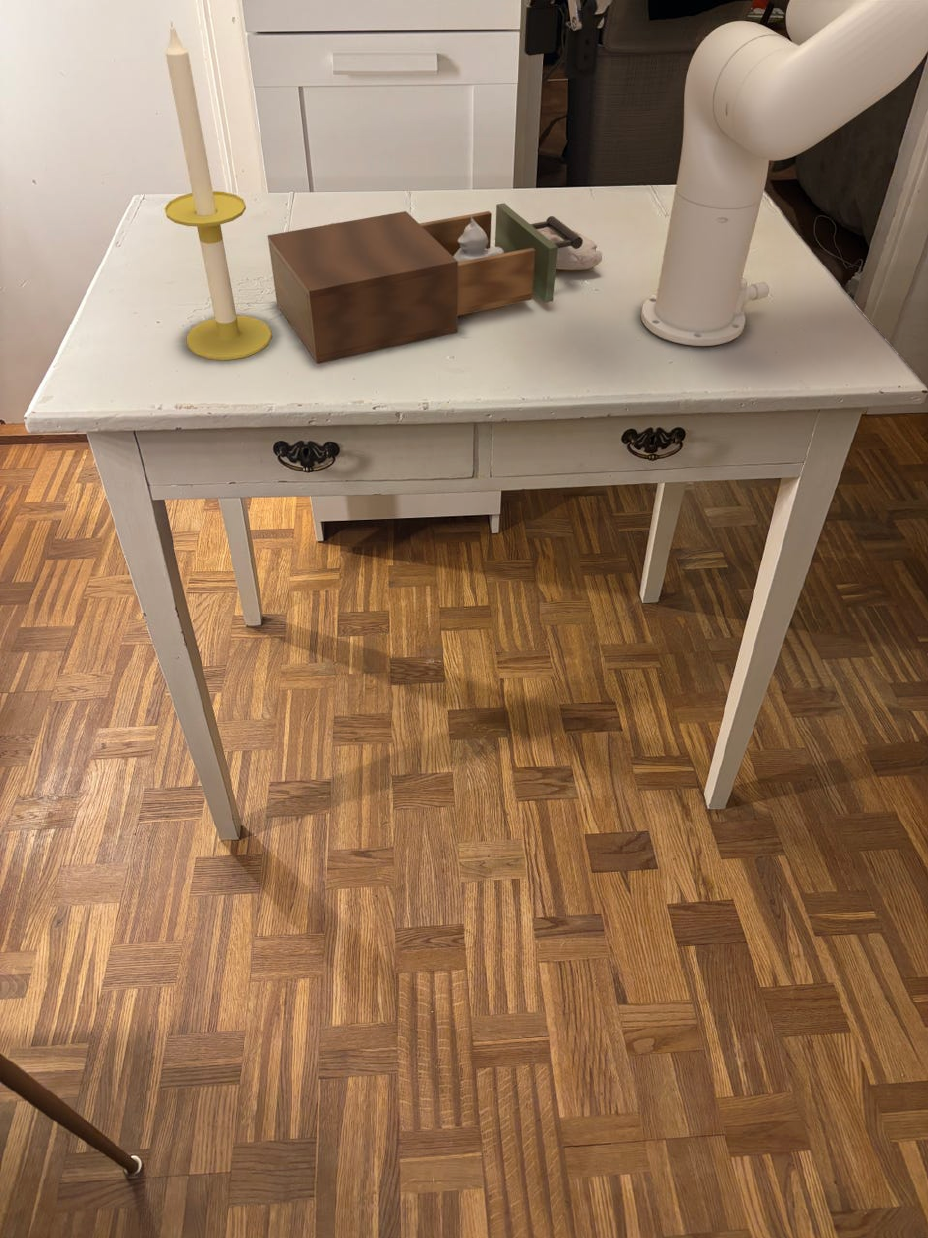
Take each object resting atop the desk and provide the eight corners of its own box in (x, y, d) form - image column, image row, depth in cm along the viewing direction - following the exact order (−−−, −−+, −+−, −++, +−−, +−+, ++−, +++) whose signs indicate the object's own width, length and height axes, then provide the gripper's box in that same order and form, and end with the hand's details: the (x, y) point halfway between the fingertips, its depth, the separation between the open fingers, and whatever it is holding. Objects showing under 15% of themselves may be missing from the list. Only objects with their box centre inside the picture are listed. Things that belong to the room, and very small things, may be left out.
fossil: (507, 220, 125) (570, 212, 128) (504, 252, 127) (567, 243, 131) (552, 251, 117) (618, 241, 120) (548, 284, 119) (613, 273, 123)
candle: (175, 329, 111) (103, 14, 88) (254, 310, 115) (205, 2, 91) (202, 368, 105) (132, 40, 82) (284, 346, 109) (240, 27, 85)
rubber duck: (447, 271, 118) (447, 207, 112) (497, 267, 119) (500, 204, 113) (455, 291, 114) (456, 226, 109) (507, 287, 115) (510, 222, 110)
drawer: (539, 247, 126) (543, 195, 121) (592, 292, 117) (599, 238, 112) (387, 277, 119) (385, 224, 114) (431, 327, 110) (431, 272, 105)
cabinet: (408, 278, 121) (406, 210, 115) (457, 332, 112) (458, 261, 105) (276, 304, 116) (267, 234, 109) (317, 363, 106) (309, 290, 100)
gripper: (672, -167, 72) (639, 86, 85) (565, -190, 83) (550, 36, 96) (588, -162, 70) (567, 96, 83) (490, -187, 81) (485, 44, 94)
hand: (558, 62), depth 89 cm, fingers open, 7 cm apart
